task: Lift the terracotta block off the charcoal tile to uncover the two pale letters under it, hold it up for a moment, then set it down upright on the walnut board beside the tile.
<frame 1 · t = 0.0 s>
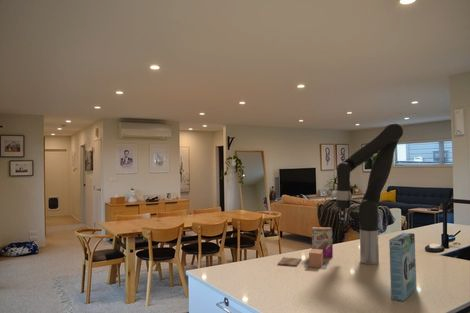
hand: (342, 228, 198), 17 cm above the kitchen island, tool pointing down, fingers open, 8 cm apart
gum box: (404, 293, 146), on the kitchen island
code tile: (316, 265, 189), on the kitchen island
terracotta block: (316, 264, 189), resting on code tile
walnut board: (289, 262, 194), on the kitchen island
candy bar box: (322, 257, 206), on the kitchen island
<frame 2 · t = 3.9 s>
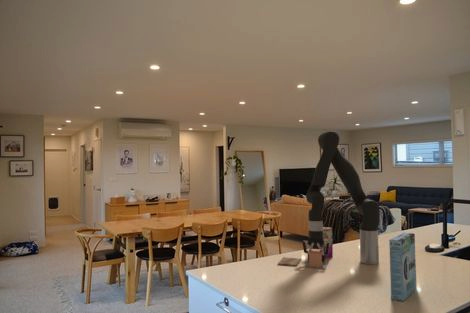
hand: (316, 261, 189), 2 cm above the kitchen island, tool pointing down, fingers closed on terracotta block, 6 cm apart
terracotta block: (316, 264, 189), resting on code tile, touching gripper
everything else where it was.
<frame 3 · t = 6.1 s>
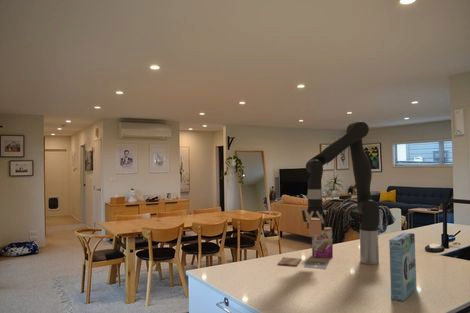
hand: (315, 229, 189), 18 cm above the kitchen island, tool pointing down, fingers closed on terracotta block, 6 cm apart
terracotta block: (316, 233, 189), point 17 cm above the kitchen island, touching gripper
everything else where it was.
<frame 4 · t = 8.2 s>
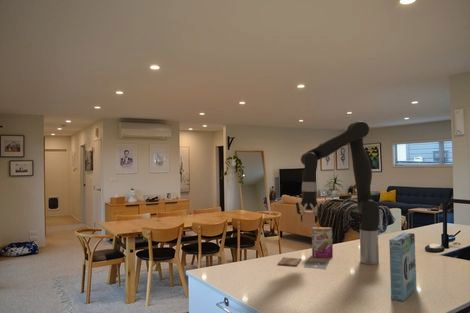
hand: (309, 222, 190), 22 cm above the kitchen island, tool pointing down, fingers closed on terracotta block, 6 cm apart
terracotta block: (309, 225, 190), point 20 cm above the kitchen island, touching gripper
everything else where it was.
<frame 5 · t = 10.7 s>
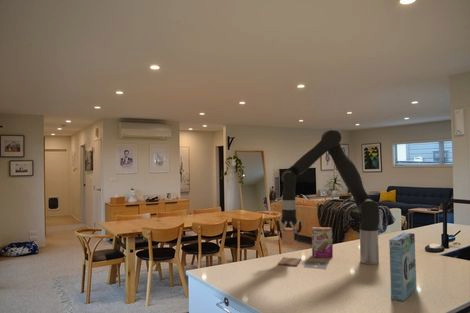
hand: (289, 239, 194), 12 cm above the kitchen island, tool pointing down, fingers closed on terracotta block, 6 cm apart
terracotta block: (289, 242, 194), point 11 cm above the kitchen island, touching gripper
everything else where it was.
when the fingers open (4 cm above the kitchen island, at t = 12.8 s): terracotta block drops 1 cm, resting on walnut board.
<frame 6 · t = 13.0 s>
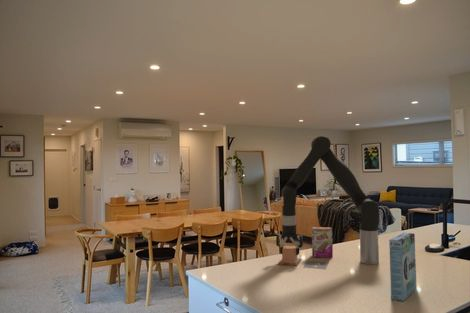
hand: (289, 254, 194), 4 cm above the kitchen island, tool pointing down, fingers open, 7 cm apart
terracotta block: (289, 261, 194), point 1 cm above the kitchen island, touching walnut board
everything else where it was.
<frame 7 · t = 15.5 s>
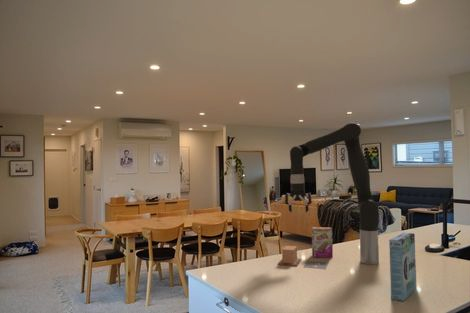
hand: (298, 212, 200), 26 cm above the kitchen island, tool pointing down, fingers open, 8 cm apart
nothing on the kitchen island moved.
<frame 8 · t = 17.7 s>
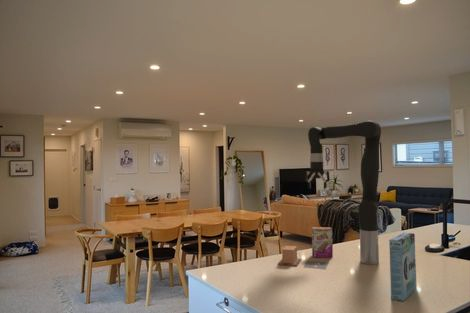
hand: (317, 188, 213), 38 cm above the kitchen island, tool pointing down, fingers open, 8 cm apart
nothing on the kitchen island moved.
at the end: terracotta block inside the target area on the walnut board (0.1 cm from its centre), point 1.0 cm above the walnut board's base; terracotta block tilted 0°; the gripper is holding nothing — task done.
